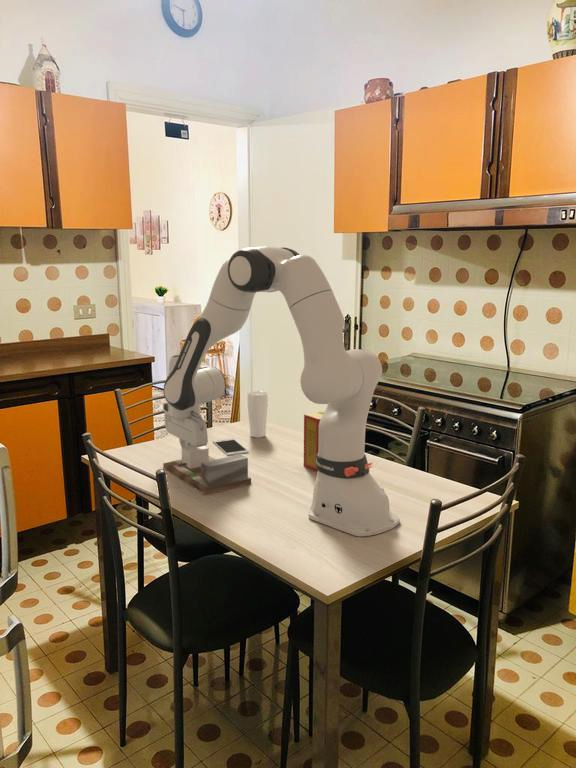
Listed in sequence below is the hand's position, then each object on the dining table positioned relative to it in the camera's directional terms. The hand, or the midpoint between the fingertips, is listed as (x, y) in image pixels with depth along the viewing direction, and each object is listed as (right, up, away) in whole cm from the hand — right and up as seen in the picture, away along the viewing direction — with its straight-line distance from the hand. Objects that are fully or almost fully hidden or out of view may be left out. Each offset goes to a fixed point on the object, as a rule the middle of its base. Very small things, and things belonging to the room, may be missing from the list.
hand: (186, 453), depth 186 cm
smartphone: (+11, 0, +17) cm, 20 cm away
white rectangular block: (+2, -3, -5) cm, 6 cm away
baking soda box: (+40, -4, 0) cm, 40 cm away
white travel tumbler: (+19, +3, +29) cm, 35 cm away
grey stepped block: (+7, -5, -8) cm, 12 cm away
